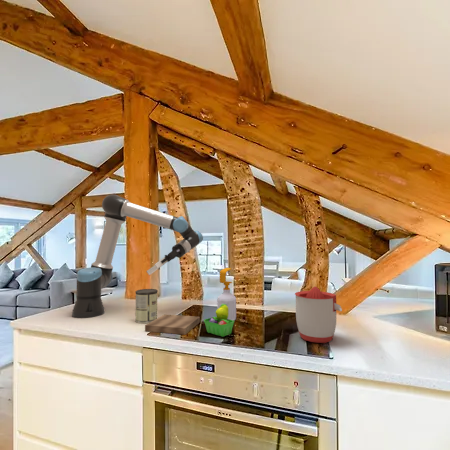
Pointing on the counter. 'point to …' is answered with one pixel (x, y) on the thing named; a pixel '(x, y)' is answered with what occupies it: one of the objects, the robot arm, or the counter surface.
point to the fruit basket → (220, 322)
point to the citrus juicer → (316, 315)
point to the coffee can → (146, 305)
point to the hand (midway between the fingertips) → (151, 270)
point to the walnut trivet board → (172, 324)
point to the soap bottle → (227, 296)
